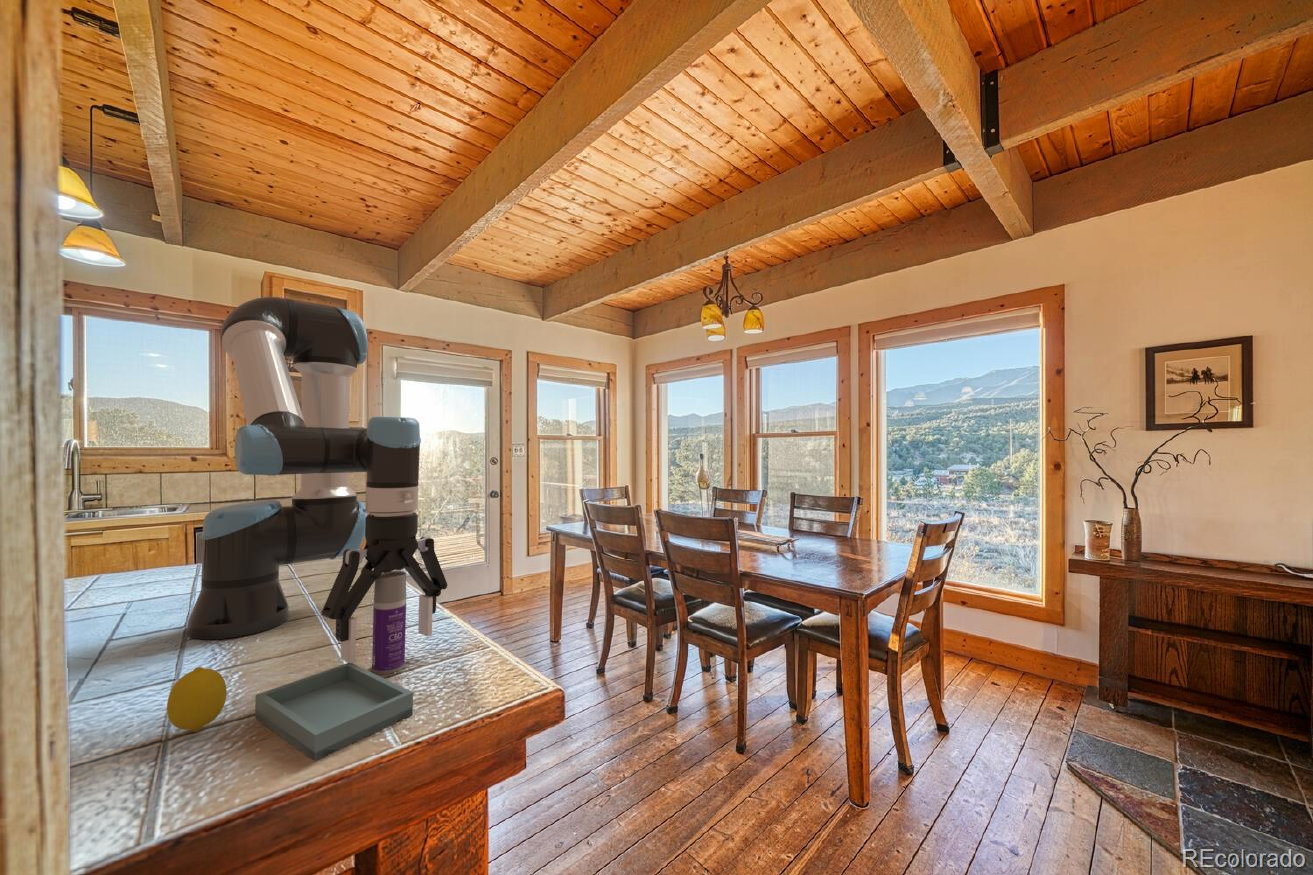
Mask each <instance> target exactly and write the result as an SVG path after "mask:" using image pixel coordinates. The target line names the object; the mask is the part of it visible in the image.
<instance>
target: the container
mask: <svg viewBox="0 0 1313 875" xmlns="http://www.w3.org/2000/svg"><path fill="white" fill-rule="evenodd" d="M373 592H374V594H373V609H372V610H373V611H372V612H373V614H372V617H373V619H372V650H371V652H372V656H371V671H372V673H374V674H376V675H389V674H392V673H396V672H398V671H401V670H402V669H404V667H405V663H406V662H405V660H406V628H407V626H406V625H407V622H406V620H407V619H406V618H407V617H406V616H407V573H406V572H405V571H402V570H393V571H391V572H388V573H383V572H382V574H381V575H380V577H379V578H377V579H376V580H375V581H374V590H373Z"/></svg>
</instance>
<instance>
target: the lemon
mask: <svg viewBox="0 0 1313 875" xmlns="http://www.w3.org/2000/svg"><path fill="white" fill-rule="evenodd" d="M227 693H228V692H227V685H226V681H225V679H224V677H223V676H222V674H220V672H219V671H217V670H215V669H211V668H205V667H203V666H199V667H195V668H194V669H193V670H191V671H189V672H188V673H186V674H184V675H182V677H180V678H179V679H178V680H177V681H176V682H175V684H174V685H173V686H172V688H171V690H170V692H169V695H168V697H167V698H168V699H167V703H166V705H167V708H166V710H167V711H166V712H167V718H168V720H169V722H170V723H171V724H172V725H173V726H174V727H175V728H177V729H180V730H185V731H191V732H193V733H198V732H200V731H201V730H202V729H203V728H204V727H205V726H208V725H209V724H210V723H212V722H214V720H215V719H216V718H218V716H219V715H220V714H221V712H222V711H223V709H224V707H225V704H226V700H227V695H228V694H227Z"/></svg>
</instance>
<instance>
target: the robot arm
mask: <svg viewBox="0 0 1313 875" xmlns="http://www.w3.org/2000/svg"><path fill="white" fill-rule="evenodd" d="M220 339H221V343H222V344H221V345H222V347H223V350H224V351H225V353H226V354H227V355H228V356H229V357H230V358H232V361H233V365H234V370H235V376H236V380H237V384H238V389H239V393H240V398H241V402H242V407H243V411H244V416H245V420H246V425H243V426H241V427H239V428H238V429H237V431H236V433H235V440H234V449H233V450H234V462H235V466H236V469H237V471H238V472H239V473H241V474H244V475H249V476H250V475H252V476H254V475H259V476H261V475H262V476H272V477H273V476H280V475H281V476H283V475H284V476H285V475H300V489H299V490H298V491H297V492H296V493H294V495H292V496H291V505H290V506H283V505H282V504H281V501H280V500H277V499H267V500H254V501H253V500H252V501H246V502H241V503H236V504H235V503H234V504H230V505H226V506H222V507H218V508H216V509H213V510H211V511H209V512H208V513H207V514H206V515H205V516H204V519H203V525H202V534H201V536H200V540H202V556H201V557H202V558H201V575H200V576H201V583H200V592H199V594H198V596H197V599H196V601H195V603H194V605H193V608H192V610H191V613H190V615H189V618H188V620H187V627H186V628H187V629H186V630H187V633H186V634H187V636H188V637H190V638H193V639H198V640H222V639H230V638H232V639H233V638H238V637H243V636H249V635H253V634H257V633H262V632H264V631H268V630H270V629H273V628H275V627H278V626H280V625H282V624H283V623H285V622H287V620H288V619H289V617H290V616H289V615H290V614H289V613H290V610H289V608H290V607H289V603H288V601H287V598H286V596H285V592H284V591H283V588H282V585H281V583H280V579H279V578H280V566H285V565H292V564H300V563H306V562H307V563H308V562H313V561H321V560H327V559H329V560H334V559H336V558H342V563H341V564H342V565H341V566H340V569H339V571H338V573H337V575H336V578H335V580H334V582H333V585H332V587H331V590H330V592H329V594H328V596H327V598H326V601H325V603H324V605H323V608H322V610H321V616H323V617H325V618H328V619H331V620H335V639H336V641H339V642H340V660H342V661H344V662H346V663H353V664H354V663H356V652H357V651H356V649H357V647H356V646H357V640H356V639H357V618H356V617H353V616H352V615H354V613H355V611H356V610H357V608H359V607H358V606H359V605H360V604H361V603H362V601H363V599H364V598H365V597H366V595H367V594H368V592H369V590H370V588H371V587H372V586H373V584H375V580H376V579H377V578H379V577H380V575H381V574H382V573H388V572H391V571H402V570H405V571H406V572H407V573H408V574H409V576H410V577H411V578H412V579H413V581H414V582H415V583H416V584H417V585H418V587H419V588H420V589H421V590H422V592H423V593H424V594H419V597H418V625H417V626H418V628H417V629H418V632H417V633H418V634H420V635H423V636H425V637H430V636H433V615H434V614H436V610H437V597H440V596H441V594H442V590H446V589H447V588H448V582H447V579H446V577H445V574H444V572H443V570H442V567H441V565H440V562H439V559H438V556H437V554H436V552H435V540H434V538H431V537H427V536H421V537H420V538H419V539H417V535H418V528H419V526H418V525H419V524H418V523H419V522H418V521H419V515H418V514H417V512H415V511H417V509H418V507H419V481H420V480H419V478H420V477H419V476H420V475H419V474H420V453H421V452H420V450H421V442H422V438H421V433H420V431H421V429H420V422H419V421H418V420H417V419H416V418H414V417H402V416H401V417H400V416H399V417H398V416H372V417H370V418H369V420H368V422H367V423H368V424H367V428H366V427H361V428H360V427H359V428H353V427H352V428H350V378H351V376H353V375H354V374H356V372H358V366H359V365H361V364H364V363H365V361H366V359H367V356H368V352H367V351H368V349H369V348H368V347H369V346H368V345H369V340H368V335H367V329H366V326H365V324H364V321H363V319H362V318H361V316H360V315H358V313H356V312H354V311H352V310H349V309H345V308H340V307H337V306H330V305H323V304H318V303H312V302H307V301H306V302H305V301H299V300H295V299H290V298H289V299H288V298H285V297H279V296H263V297H257V298H254V299H250V300H248V301H245V302H243V303H241V304H240V305H238V306H237V307H235V308H234V309H233V310H232V311H231V312H229V313H228V314H227V316H226V318H225V319H224V321H223V323H222V326H221V329H220ZM285 357H289V358H290V357H291V358H292V359H293V360H292V367H293V368H294V369H295V370H296V371H297V372H298V373H299V374H301V406H300V402H299V400H298V396H297V393H296V390H295V387H294V383H293V380H292V377H291V375H290V370H289V367H288V365H287V361H286V358H285ZM349 473H366V483H365V484H366V486H365V487H366V490H365V504H364V502H362V501H360V500H357V498H358V497H357V493H356V492H355V491H354V490H353V489H352V488H350V486H349V485H350V484H349V483H350V482H349V481H350V480H349V478H350V477H349V476H350V475H349ZM367 512H368V513H367ZM364 540H365V544H364V547H363V548H362V549H360V547H361V546H362V544H363V542H364ZM417 550H418V551H419V553H420V556H421V559H422V561H423V564H424V567H425V570H426V571H427V573H426V572H425V571H424V570H423V569H422V568H421V566H420V563H419V562H418V561H417V560H416V558H415V557H414V555H415V553H416V552H417ZM363 559H365V560H366V561H367V562H366V563H365V564H364V565H363V567H362V569H361V570H360V574H359V576H358V577H357V578H356V580H355V581H354V579H355V577H356V575H357V572H358V571H359V570H358V569H359V566H360V564H362V563H363ZM427 574H428V575H427Z"/></svg>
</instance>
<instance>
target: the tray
mask: <svg viewBox="0 0 1313 875" xmlns="http://www.w3.org/2000/svg"><path fill="white" fill-rule="evenodd" d="M254 701H255V702H254V703H255V704H254V705H255V706H254V708H255V709H254V718H255V719H256V720H257V721H259V722H260V723H261V724H263V725H264V726H266V727H267V728H268V729H270V730H271V731H272V732H274V733H275V734H277V735H278V736H279V737H280V738H282V739H284V740H285V741H287V743H289V744H290V745H292V746H293V747H294V748H296V749H297V750H298V751H300V752H301V753H303V754H304V755H305V756H306V757H308V758H309V759H311V760H312V761H314V762H316V761H318V760H321V759H323V758H324V757H326V756H328V755H329V756H330V755H331V754H333V753H335V752H337V751H339V750H342V749H344V748H346V747H347V746H350V745H353V744H354V743H357V742H358V741H360V740H362V739H364V738H367V737H369V736H371V735H374V734H375V733H377V732H379V731H381V730H384V729H386V728H388V727H390V726H391V725H392V726H393V725H394V724H396V723H398V722H400V721H402V720H405V719H407V718H409V717H410V716H412V715H413V713H414V712H413V711H414V710H413V708H414V703H413V702H414V692H413V691H411V690H409V689H407V688H405V687H403V686H400V684H399V685H398V684H397V683H395V682H393V681H390V680H388V679H385V677H382V676H381V675H379V674H376V673H374V672H373V671H372V672H371V671H370V670H367V669H365V668H364V667H361V666H359V665H357V664H356V663H354V662H353V663H348V662H346V663H344V664H340V665H338V666H334V667H333V668H329V669H327V670H324V671H321V672H318V673H315V674H313V675H310V676H307V677H306V676H305V677H303V678H300V679H298V680H295V681H292V682H289V683H287V684H283V685H281V686H277V687H275V688H272V689H270V690H266V691H263V692H260V693H257V694H255V700H254Z"/></svg>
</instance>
